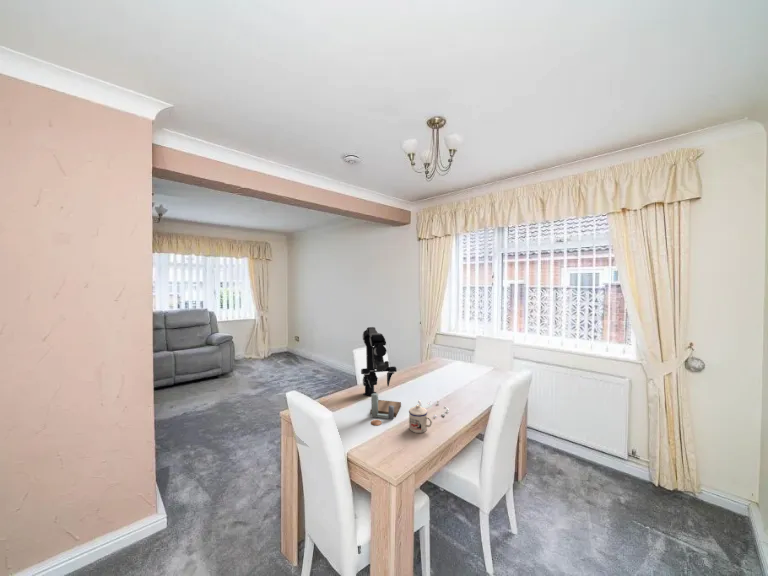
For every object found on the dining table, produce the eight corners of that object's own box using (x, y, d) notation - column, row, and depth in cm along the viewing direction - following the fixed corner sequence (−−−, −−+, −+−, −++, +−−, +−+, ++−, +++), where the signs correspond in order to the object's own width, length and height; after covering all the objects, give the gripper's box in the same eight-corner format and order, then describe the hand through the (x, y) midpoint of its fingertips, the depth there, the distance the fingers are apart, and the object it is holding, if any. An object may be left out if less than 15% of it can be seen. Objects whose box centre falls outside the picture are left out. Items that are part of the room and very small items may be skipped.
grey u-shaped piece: (394, 416, 157) (394, 395, 156) (393, 419, 153) (392, 397, 153) (372, 414, 160) (372, 393, 160) (370, 417, 156) (370, 395, 156)
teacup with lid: (405, 429, 144) (405, 406, 143) (414, 422, 151) (414, 400, 151) (427, 437, 137) (427, 412, 136) (436, 429, 144) (436, 405, 144)
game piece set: (407, 406, 171) (407, 400, 171) (437, 401, 178) (437, 395, 178) (424, 421, 153) (424, 414, 153) (456, 415, 160) (456, 408, 160)
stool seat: (400, 406, 170) (400, 402, 170) (390, 427, 146) (390, 422, 146) (377, 403, 174) (377, 399, 174) (364, 424, 150) (364, 419, 150)
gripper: (363, 357, 152) (364, 389, 148) (398, 355, 156) (400, 386, 152) (360, 358, 162) (361, 388, 158) (393, 356, 166) (395, 385, 162)
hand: (379, 387), depth 157 cm, fingers open, 9 cm apart
